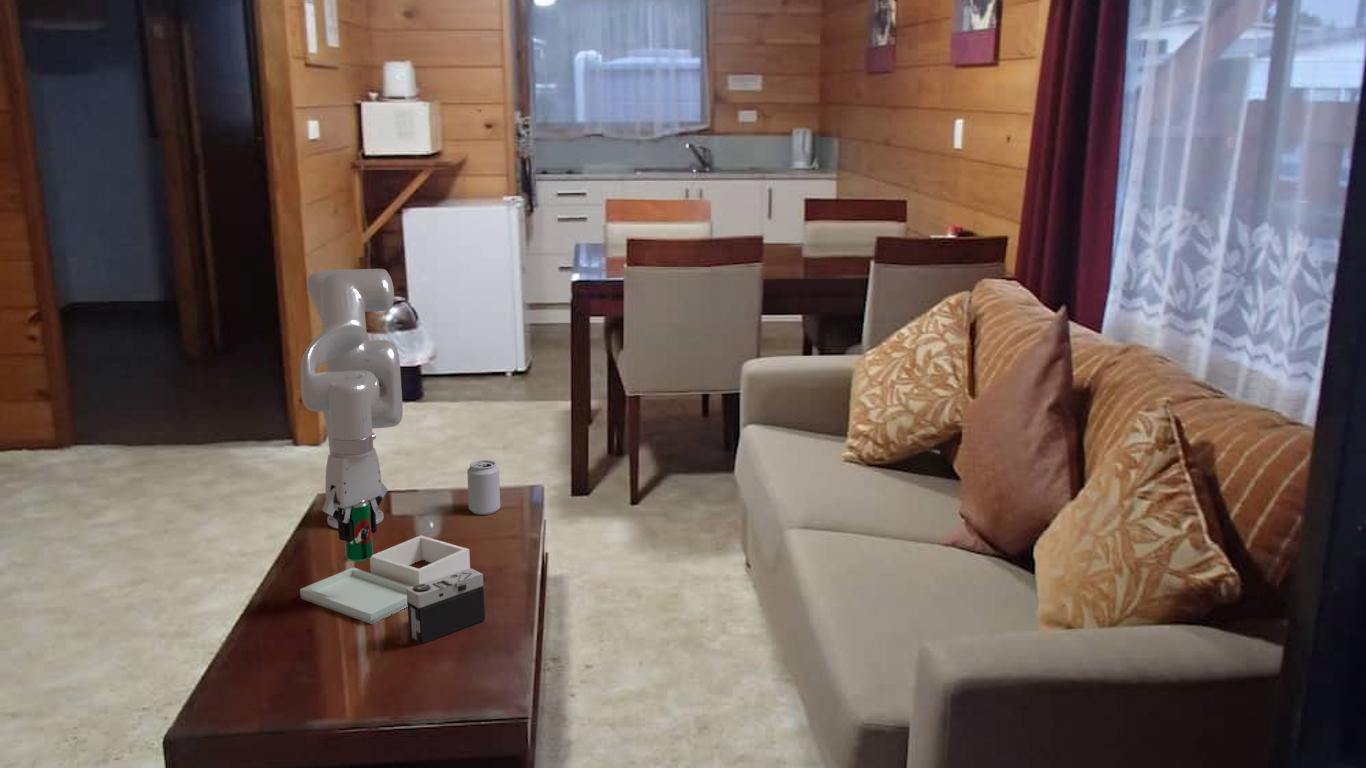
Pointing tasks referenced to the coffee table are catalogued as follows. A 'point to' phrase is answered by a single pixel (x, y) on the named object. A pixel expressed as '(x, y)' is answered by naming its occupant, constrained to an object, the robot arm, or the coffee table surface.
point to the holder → (419, 548)
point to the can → (483, 487)
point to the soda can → (360, 533)
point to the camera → (445, 605)
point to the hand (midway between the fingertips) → (358, 535)
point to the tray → (358, 595)
